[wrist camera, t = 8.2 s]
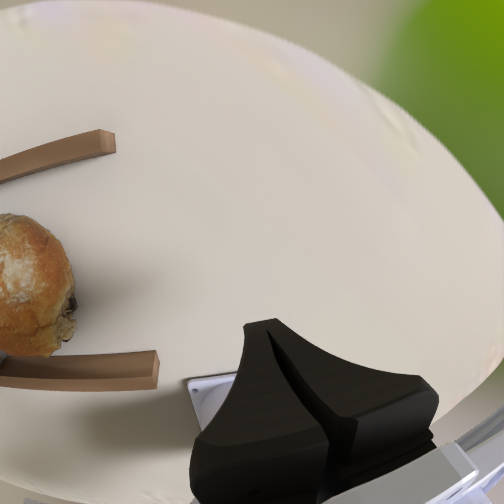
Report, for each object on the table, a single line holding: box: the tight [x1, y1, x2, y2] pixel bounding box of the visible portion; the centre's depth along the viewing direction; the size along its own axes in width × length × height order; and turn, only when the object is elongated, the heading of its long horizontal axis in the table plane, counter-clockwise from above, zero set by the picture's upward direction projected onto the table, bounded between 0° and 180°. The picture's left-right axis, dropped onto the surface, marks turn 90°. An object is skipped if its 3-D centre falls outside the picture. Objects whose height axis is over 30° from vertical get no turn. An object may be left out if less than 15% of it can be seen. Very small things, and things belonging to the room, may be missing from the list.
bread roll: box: [0, 213, 77, 358], centre depth 15 cm, size 10×10×8 cm
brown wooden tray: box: [0, 129, 160, 392], centre depth 14 cm, size 16×19×6 cm
